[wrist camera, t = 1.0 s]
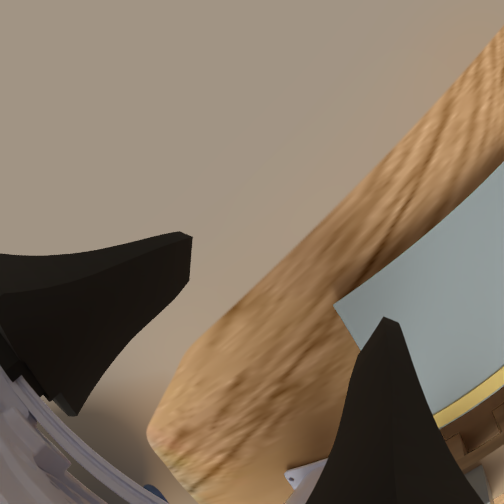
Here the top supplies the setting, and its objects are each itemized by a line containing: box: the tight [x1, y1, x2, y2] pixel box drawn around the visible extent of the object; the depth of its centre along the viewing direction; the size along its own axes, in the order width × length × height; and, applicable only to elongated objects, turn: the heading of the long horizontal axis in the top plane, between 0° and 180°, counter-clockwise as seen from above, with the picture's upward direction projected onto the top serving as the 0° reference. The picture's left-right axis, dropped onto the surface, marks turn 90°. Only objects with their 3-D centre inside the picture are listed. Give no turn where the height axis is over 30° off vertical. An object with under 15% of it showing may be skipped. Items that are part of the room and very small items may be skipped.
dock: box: [333, 162, 504, 429], centre depth 14 cm, size 12×18×2 cm, turn 124°
